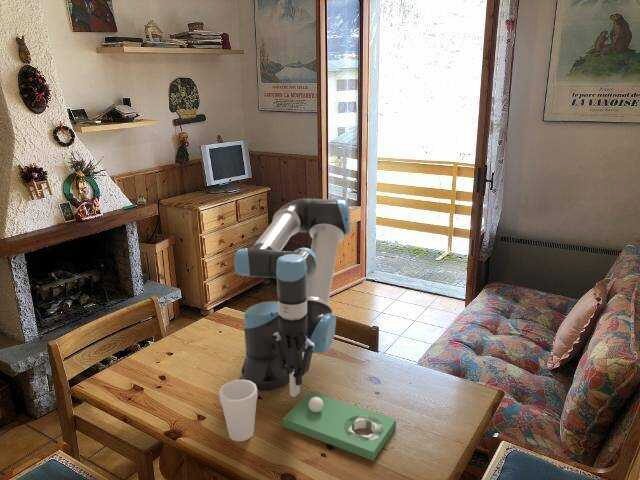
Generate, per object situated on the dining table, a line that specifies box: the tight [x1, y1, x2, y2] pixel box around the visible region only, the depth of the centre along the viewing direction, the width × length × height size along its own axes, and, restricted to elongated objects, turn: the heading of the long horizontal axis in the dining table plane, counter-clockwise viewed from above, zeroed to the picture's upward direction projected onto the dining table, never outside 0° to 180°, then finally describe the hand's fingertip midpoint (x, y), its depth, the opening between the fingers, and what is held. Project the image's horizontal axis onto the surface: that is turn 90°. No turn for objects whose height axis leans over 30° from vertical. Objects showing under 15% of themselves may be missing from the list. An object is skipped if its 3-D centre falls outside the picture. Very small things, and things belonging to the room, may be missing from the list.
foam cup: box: [218, 378, 259, 442], centre depth 133 cm, size 10×9×13 cm
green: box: [282, 391, 397, 461], centre depth 136 cm, size 26×14×2 cm, turn 60°
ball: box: [309, 397, 324, 413], centre depth 139 cm, size 4×4×4 cm
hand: (295, 393), depth 141 cm, fingers closed
